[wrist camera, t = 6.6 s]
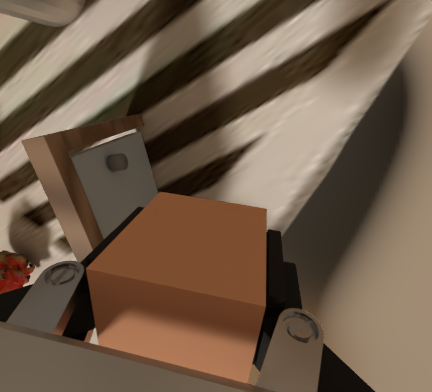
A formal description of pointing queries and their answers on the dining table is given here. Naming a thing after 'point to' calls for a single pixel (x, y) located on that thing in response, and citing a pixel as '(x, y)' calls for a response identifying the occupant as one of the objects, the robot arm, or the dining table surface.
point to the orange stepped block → (185, 285)
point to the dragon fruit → (13, 271)
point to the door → (115, 179)
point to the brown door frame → (72, 178)
